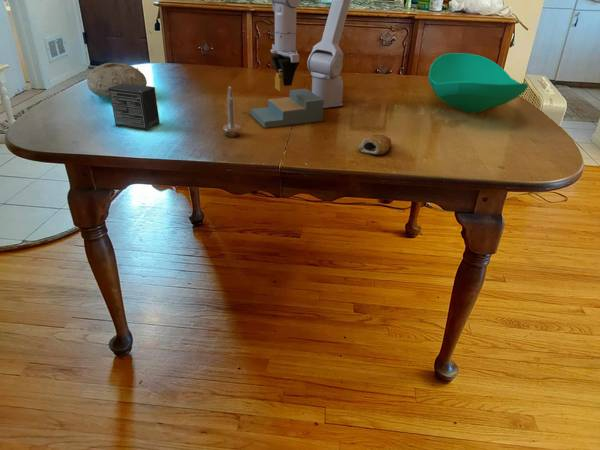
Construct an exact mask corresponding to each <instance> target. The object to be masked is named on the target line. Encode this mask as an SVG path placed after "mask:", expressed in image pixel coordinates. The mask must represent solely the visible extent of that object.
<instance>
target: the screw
mask: <svg viewBox="0 0 600 450" xmlns="http://www.w3.org/2000/svg"><path fill="white" fill-rule="evenodd" d="M226 93H227V94H226V95H227V96H226V97H227V98H226V102H227V103H226V109H227V124H224V125H223V126H222V130H223V131H224V132H226V136H227V137H231V138H233V137H236V136H238V132H240V131H241V130H242V126H241V125H240V124H237V123H236V121H235V120H236V119H235V118H236V115H235V113H236V112H235V99H234V95H233V87H231V86H230V85H229V86H227V87H226Z"/></svg>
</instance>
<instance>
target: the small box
mask: <svg viewBox="0 0 600 450" xmlns="http://www.w3.org/2000/svg"><path fill="white" fill-rule="evenodd" d="M108 89H109V92H110V97H111V98H110V101H111V107H112V112H113V117H114V118H113V119H114V123H115V126H116V127H119V128H127V129H134V130H139V131H146V132H147V131H149V130H152V129H153V128H155V127H158V126H159V125H160V124H161V123H160V122H161V121H160V115H159V107H158V101H157V94H156V87H155V86H150V85H146V86H142V85H134V84H126V83H122V84H119V85H116V86H113V87H110V88H108Z"/></svg>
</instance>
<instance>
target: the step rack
mask: <svg viewBox="0 0 600 450" xmlns="http://www.w3.org/2000/svg"><path fill="white" fill-rule="evenodd" d="M323 101H324V100H323V99H321V98H320V97H318V96H317V95H315V94H314V93H312V91H311V90H309V89H308V88H299V89H295V90H290V91H289V96H288V97H287V96H285V97H278V98H277V97H276V98H268V99H267V106H264V107H255V108H250V115H251V116H252V118H254V120H256V121H257V122H258V123H259V124H260V126H262V127H263V128H264V129H268V128H276V127H284V126H291V125H299V124H300V125H301V124H307V123H315V122H323V119H324V117H323V116H324V108H323Z"/></svg>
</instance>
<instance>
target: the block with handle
mask: <svg viewBox="0 0 600 450" xmlns="http://www.w3.org/2000/svg"><path fill="white" fill-rule="evenodd" d="M280 71H282V70H281V69H279V73H276V72H275V75H274V88H275V90H277V91H278V92H288V91H289V92H290V90H296V89H295V88H296V87H295V86H296V78H295V76H294V77H293V81H292V85H290V86H284V83H283V76H282V72H280Z"/></svg>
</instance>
